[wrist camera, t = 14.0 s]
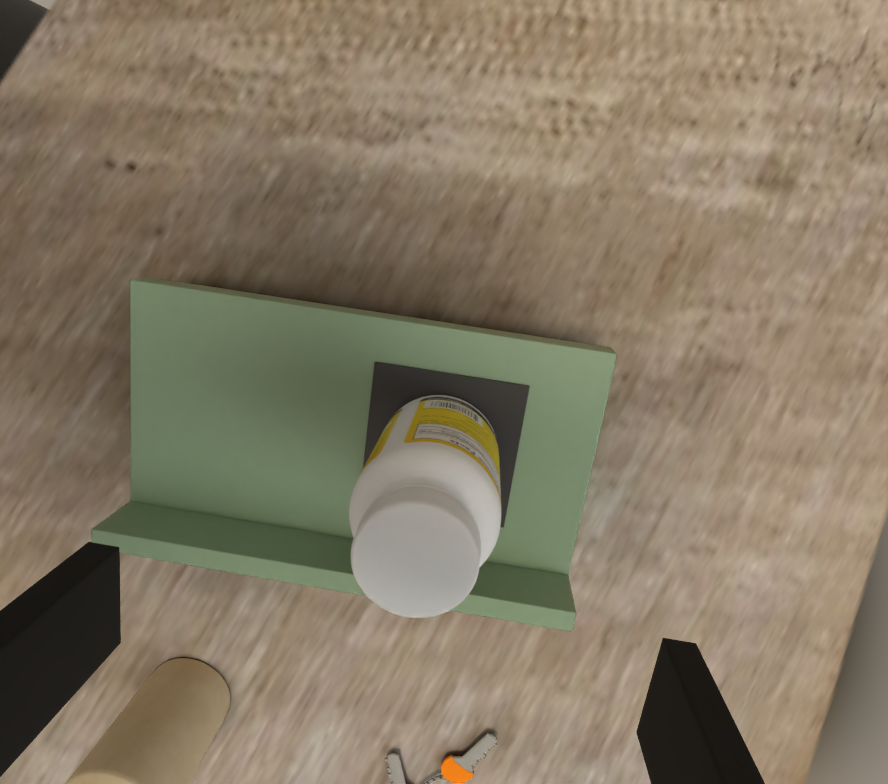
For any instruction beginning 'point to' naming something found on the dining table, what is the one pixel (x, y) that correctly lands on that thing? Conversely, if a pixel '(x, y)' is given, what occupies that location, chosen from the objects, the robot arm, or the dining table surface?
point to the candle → (161, 728)
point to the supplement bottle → (426, 507)
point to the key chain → (447, 764)
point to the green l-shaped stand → (342, 437)
